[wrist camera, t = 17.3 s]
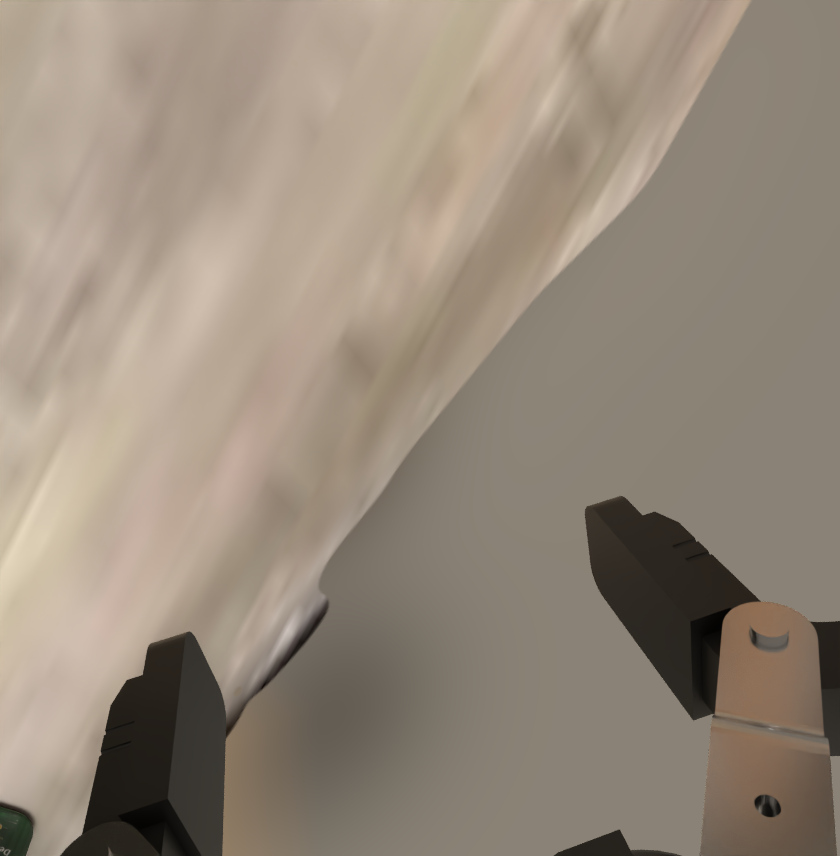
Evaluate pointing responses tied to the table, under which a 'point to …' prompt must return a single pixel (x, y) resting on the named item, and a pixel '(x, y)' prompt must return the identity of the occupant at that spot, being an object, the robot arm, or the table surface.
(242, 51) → the table surface
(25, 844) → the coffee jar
